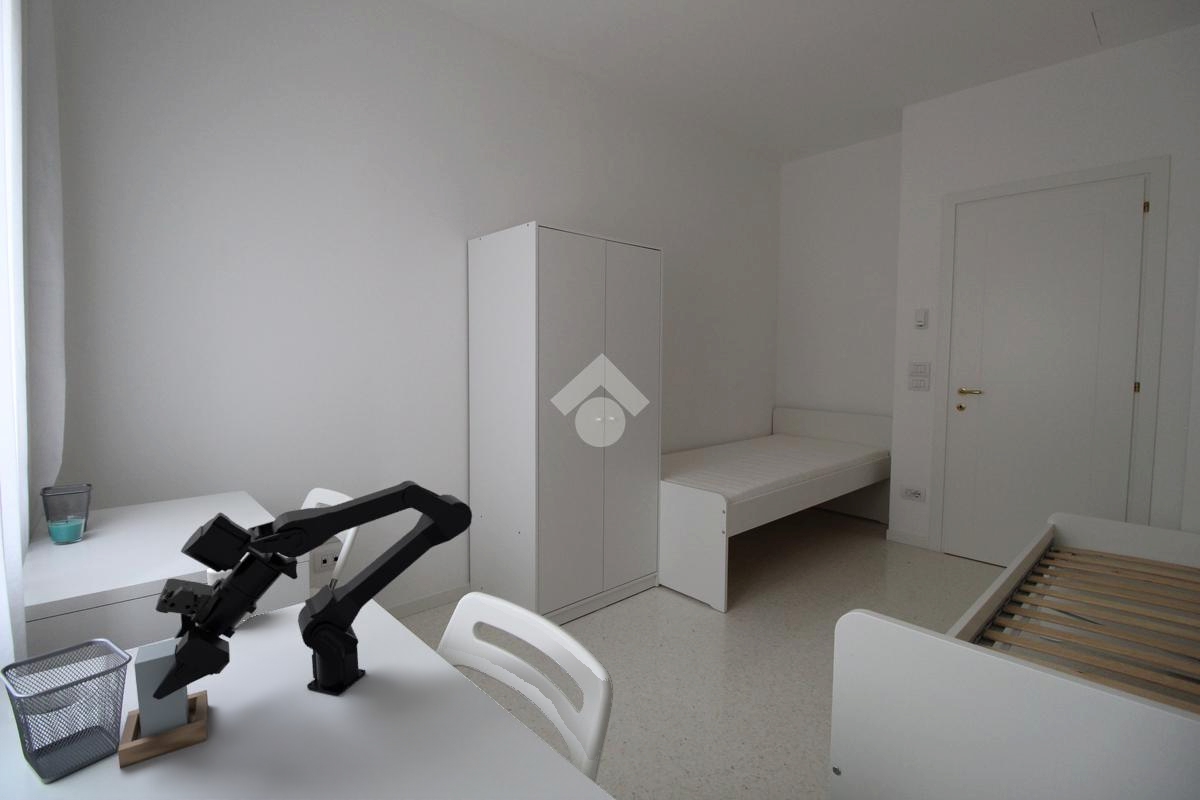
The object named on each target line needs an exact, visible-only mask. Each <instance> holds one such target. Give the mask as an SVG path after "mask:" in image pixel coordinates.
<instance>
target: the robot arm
mask: <svg viewBox="0 0 1200 800" xmlns="http://www.w3.org/2000/svg"><path fill="white" fill-rule="evenodd" d="M407 509H413V510H415V511H418V512H419V513H422V514H421V515H420V517H419V519H418V521H417V522H416V524H415V526H414V527H413V528H412V529H411V530H409V531H408V532H407V533H406V534H404V535H403V536H402V537H401V538H400V539H399V540H398V541H396V542H395V543H394V544H393V545H391V547H388V549H387V550H385V552H383V553H382V554H381V555H380V556H379V557H377V558H376V559H374V561H371V563H369V565H367V566H366V567H365V568H363V570H362V571H360V572H359V573H358V574H356V575H355V576H354V577H353V578H352V579H350V580H349V581H348V582H347V583H345V584H344V585H342V586H340V587H339V586H338V587H337V588H334V589H331V587H330V586H329V584H325V585H323V587H322V588H321V589H319V591H318V592H317V593H316V594H315V595H313V596H312V597H309V598H307V599H305V600H304V603H305V605H304V606H303V607H302V608H301V609H300V611H299V613H298V619H297V623H298V627H299V631H300V635H301V638H302V643H304V645H305V646H306V647H307V648H309V649H310V650H312V654H311V663H312V665H311V666H312V667H311V668H312V677H313V680H311V681H310V682H309V683H308V684H307V685H306V687H307V689H308V690H313V691H317V692H321V693H326V694H330V695H334V696H339V695H341V694H342V693H344V692H345V691H346V690H347V689H349V688H350V687H351V686H352V685H353V684H355V683H356V682H357V681H359V680H360V679H361V678H362V677H363V676H365V675H366V674H367V673H366V672H367V670H365V669H361V668H359V653H358V644H359V639H358V637H357V635H356V633H355V631H354V629H353V625H352V624H353V623H354V621H355V620H356V618H357V617H358V614H359V613H360V611H361V610H362V608H363V607H364V606H365V605H366V604H367V603H369V602H370V601H371V600H372V599H374V597H376V596H377V595H378V594H379V593H380V592H381V591H383V589H385V588H386V587H387V586H388V585H389V584H391V583H392V582H393V581H395V580H396V579H397V578H398V577H400V575H401V574H403V573H404V572H405V571H406V570H407V569H409V568H410V567H411V566H412V565H413V564H414V563H415V562H416V561H417V560H420V558H422V556H424V555H425V554H426V553H427V552H428V551H429V550H430V549H431V548H434V547H437V546H439V545H441V544H445V543H447V542H450V541H452V540H453V539H455V538H456V537H458V536H459V535H461V534H463V533H465V532H466V531H467V530H468V529H469V527H470V526H471V524H472V518H473V514H472V513H473V512H472V509H471V507H470V506H469V505H468V504H467V503H465V502H464V501H462V500H460V499H459V498H457V497H456V496H455V495H452V494H440V495H439V494H438V493H436V492H435V491H432V490H429V489H427V488H425V487H423V486H421V485H419V484H418V483H417V482H415V481H413V480H405V481H402V482H401V483H398V484H396V485H394V486H390V487H388V488H384V489H381V490H377V491H375V492H371V493H368V494H365V495H363V496H359V497H356V498H353V499H350V500H347V501H345V502H342V503H341V502H340V503H337V504H334V505H331V506H326V507H309V508H302V509H297V510H296V509H295V510H290V511H285V512H283V513H281V514H279V515H278V516H277V517H275V519H274V520H272V521H269V522H265V523H262V524H258V525H255V526H252V527H249V528H247V529H246V528H245V527H243V526H241V525H240V524H238V523H236V522H235V521H233V520H232V519H231V518H230V517H229V516H227V515H226V514H224V513H223V512H218V513H217V514H216V515H215V516H214V517H213V518H211V519H210V520H208V521H207V522H205V523H204V524H203V525H200V526H198V528H197V529H196V531H194V532H193V533H192V535H191V536H190V537H189V538H188V539H187V541H186V542H185V544H184V545H183V546H182V548H181V550H180V552H181V553H182V554H183V555H186V556H187V557H189V558H191V559H193V560H195V561H196V562H198V563H200V564H202V565H203V566H205V567H207V568H211V569H212V570H214V571H216V572H220V571H221V570H223V571H225V572H226V571H227V570H230V569H232V568H234V567H235V566H236V565H237V564H238V563H239V562H240V561H241V562H240V563H239V565H238V566H237V567H236V568H235V569H234V570H233V571H232V572H231V573H230V574H229V575H228V576H227V577H226V579H224V578H221V579H218V580H217V581H216V582H215V583H214V584H213V585H212V586H211V585H208V584H207V583H206V584H205V583H201V582H199V581H198V582H197V581H191V580H185V579H180V578H179V579H177V578H168V579H167V580H166V582H165V583H164V586H163V588H162V589H161V593H160V595H159V597H158V599H157V603H156V606H155V611H156V612H158V613H163V614H168V613H173V614H180V620H181V621H180V622H181V626H180V627H179V629H178V631H177V633H176V634H175V636H174V638H173V639H176V638H180V637H182V639H181V640H180V642H179V643H178V645H177V644H176V646H175V652H174V657H175V663H174V664H173V666H172V667H171V669H170V670H169V671H168V673H167V674H166V676H165V677H164V679H163V680H162V682H161V683H160V685H159V686H158V688H157V689H156V691H155V692H154V694H153V697H154V698H156V699H158V700H160V699H162V698H164V697H166V696H168V695H170V694H172V693H173V692H175V691H177V690H179V689H181V688H183V687H185V686H186V685H187V686H188V685H190V684H192V683H195V682H196V681H199V680H201V679H202V678H203V679H204V678H205V677H206V676H213V675H219V674H220V673H221V672H222V671H223V670H224V669H225V667H227V666H228V664H230V659H231V658H230V657H231V655H230V653H231V652H230V641H228V640H225V639H223V638H222V637H221V636H222V635H223V636H225V637H227V638H228V639H231V638H232V637H233V635H235V633H236V629H235V626H236V625H237V624H238V623H239V622H240V621H241V619H242V618H243V617H244V616H245V615H246V614H247V613H248V612H249V613H251V614H252V613H253V612H254V611H255V610H256V608H257V609H258V605H257V606H256V603H257V604H258V602H259V601H260V600H261V598H262V597H263V596H264V595H265V594H266V593H267V591H269V590H270V588H271V587H272V586H273V585H274V583H276V581H278V579H279V578H280V577H281V576H282V574H283V575H285V576H287V577H289V578H290V579H292V580H296V579H298V572H297V571H298V570H297V566H298V559H297V558H299V557H301V556H304V555H305V554H307V553H309V552H312V551H314V550H316V549H317V548H319V547H320V546H322V545H324V544H325V543H327V542H328V541H329V540H331V539H332V538H333V537H335V536H337V535H338V534H340V533H343V532H346V531H347V530H348V531H349V530H351V529H354V528H356V527H357V528H358V527H360V526H362V525H365V524H367V523H371V522H374V521H376V520H379V519H381V518H385V517H388V516H390V515H391V516H392V515H393V514H394V515H395V514H396V513H398V512H402V511H404V510H407Z"/></svg>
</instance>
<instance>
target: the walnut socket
mask: <svg viewBox="0 0 1200 800" xmlns="http://www.w3.org/2000/svg"><path fill="white" fill-rule="evenodd" d="M188 704H189V715H190V717H189V724H188V725H185V726H181V727H178V728H175V729H171V730H168V731H165V732H162V733H158V734H155V735H152V736H149V737H145V738H142V734H141V724H140V715H139V708H138V709H133V710H129V711H128V712H127V716H126V719H125V723H124V728H123V730H122V734H121V738H120V742H119V745H118V749H117V756H118V763H119V764H118V765H119V769H122V768H126V767H128V766H132V765H135V764H138V763H141V762H144V761H147V760H151V759H153V758H157V757H159V756H162V755H165V754H169V753H173V752H174V751H177V750H181V749H185V748H187V747H191V746H194V745H197V744H199V743H202V742H206V741H207V734H208V733H207V732H208V714H209V712H208V711H209V699H208V690H207V689H204V690H200V691H197V692H193V693H191V694H190V693H189V694H188Z"/></svg>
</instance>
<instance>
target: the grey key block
mask: <svg viewBox="0 0 1200 800" xmlns="http://www.w3.org/2000/svg"><path fill="white" fill-rule="evenodd" d="M181 639H182V637H180V638H176V639H174V638H173V639H172V638H171V639H168V640H164V641H159V642H155V643H151V644H147V645H142V646H139V647H138V649H137V651H136V657H135V660H134V664H133V665H134V666H133V667H134V673H135V684H136V685H135V686H136V693H137V694H136V696H137V704H138V705H137V706H138V709H139V715H140V724H141V734H142V738H145V737H149V736H152V735H155V734H158V733H162V732H165V731H168V730H171V729H175V728H178V727H181V726H185V725H188V724H189V717H190V715H189V704H188V695H189V693H188V685H186V686H185V687H183V688H181V689H179V690H177V691H175V692H173V693H172V694H170V695H168V696H166V697H164V698H162V699H160V700H158V699H156V698H154V697H153V694H154V692H155V691H156V689H157V688H158V686H159V685H160V683H161V682H162V680H163V679H164V677H165V676H166V674H167V673H168V671H169V670H170V669H171V667H172V666H173V664H174V663H175V657H174V652H175V646H176V644H177V645H178V643H179V642H180V640H181Z"/></svg>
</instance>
